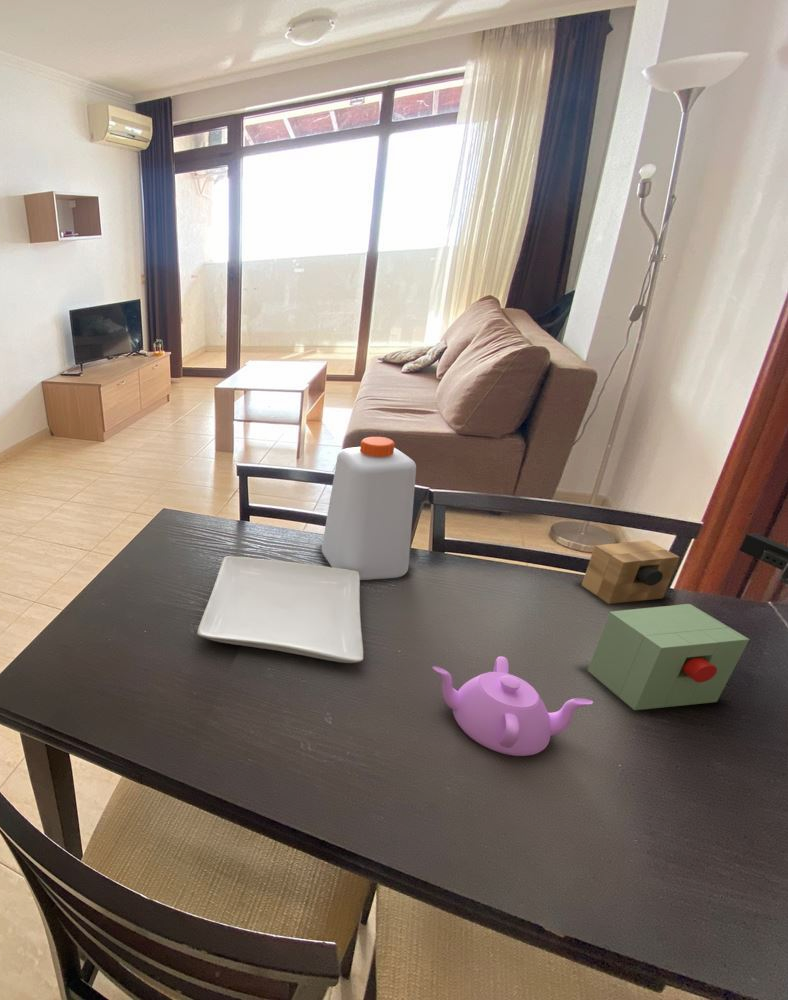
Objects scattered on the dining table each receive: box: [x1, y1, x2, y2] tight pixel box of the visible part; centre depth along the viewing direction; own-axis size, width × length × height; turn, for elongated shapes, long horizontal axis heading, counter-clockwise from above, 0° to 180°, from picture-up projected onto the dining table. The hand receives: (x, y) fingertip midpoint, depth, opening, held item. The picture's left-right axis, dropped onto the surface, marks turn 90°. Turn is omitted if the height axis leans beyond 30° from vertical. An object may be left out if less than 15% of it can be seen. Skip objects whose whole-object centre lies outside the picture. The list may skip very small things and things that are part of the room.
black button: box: [637, 567, 663, 586], centre depth 94 cm, size 3×2×3 cm, turn 93°
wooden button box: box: [581, 539, 681, 605], centre depth 98 cm, size 10×6×10 cm, turn 93°
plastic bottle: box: [321, 436, 417, 581], centre depth 111 cm, size 15×15×28 cm
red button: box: [682, 658, 717, 682], centre depth 73 cm, size 3×2×3 cm, turn 93°
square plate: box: [196, 555, 364, 664], centre depth 102 cm, size 27×27×4 cm
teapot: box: [432, 656, 594, 757], centre depth 74 cm, size 12×14×9 cm
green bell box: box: [587, 603, 750, 711], centre depth 78 cm, size 12×8×12 cm, turn 93°
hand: (748, 542), depth 79 cm, fingers closed
